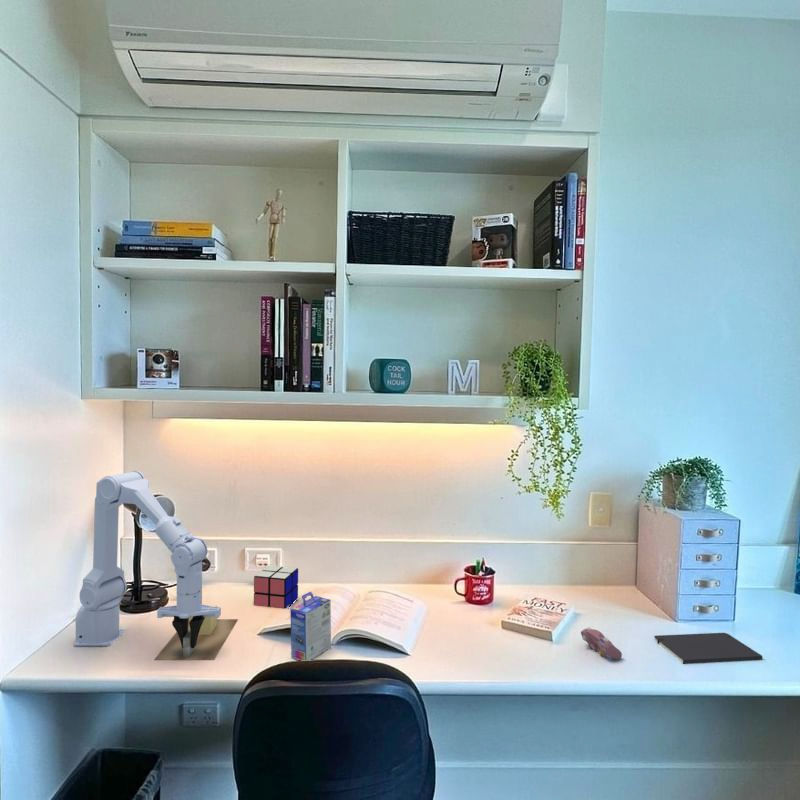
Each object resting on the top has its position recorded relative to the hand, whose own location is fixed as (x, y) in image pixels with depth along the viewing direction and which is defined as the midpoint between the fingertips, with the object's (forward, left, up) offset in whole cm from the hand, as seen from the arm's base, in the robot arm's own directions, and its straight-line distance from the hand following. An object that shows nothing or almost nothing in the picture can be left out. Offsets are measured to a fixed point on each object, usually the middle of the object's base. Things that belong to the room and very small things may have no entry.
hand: (189, 646), depth 132 cm
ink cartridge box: (+29, +2, -3) cm, 29 cm away
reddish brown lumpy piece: (+102, +2, -3) cm, 102 cm away
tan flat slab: (0, +8, -3) cm, 8 cm away
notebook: (+130, +4, -4) cm, 130 cm away
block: (0, +12, -2) cm, 12 cm away
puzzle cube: (+15, +32, -3) cm, 35 cm away
